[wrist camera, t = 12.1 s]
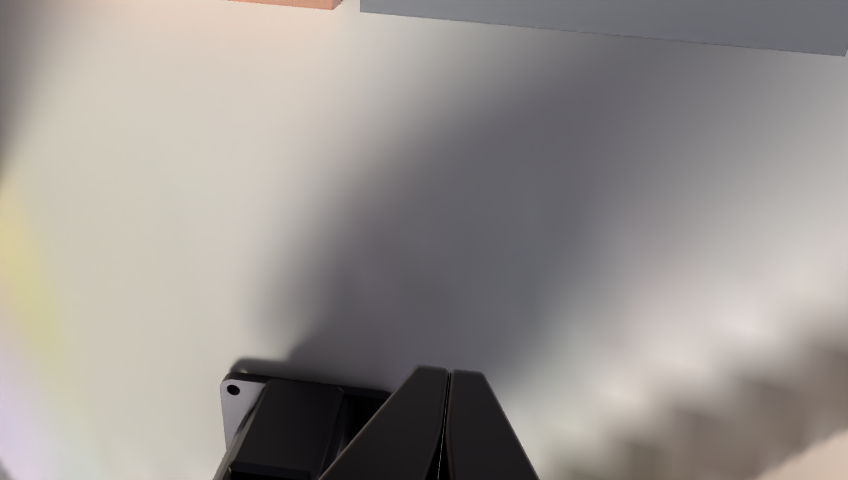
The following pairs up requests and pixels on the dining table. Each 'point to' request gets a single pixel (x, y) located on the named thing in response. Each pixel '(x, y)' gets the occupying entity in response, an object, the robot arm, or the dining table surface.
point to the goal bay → (299, 3)
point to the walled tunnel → (656, 19)
